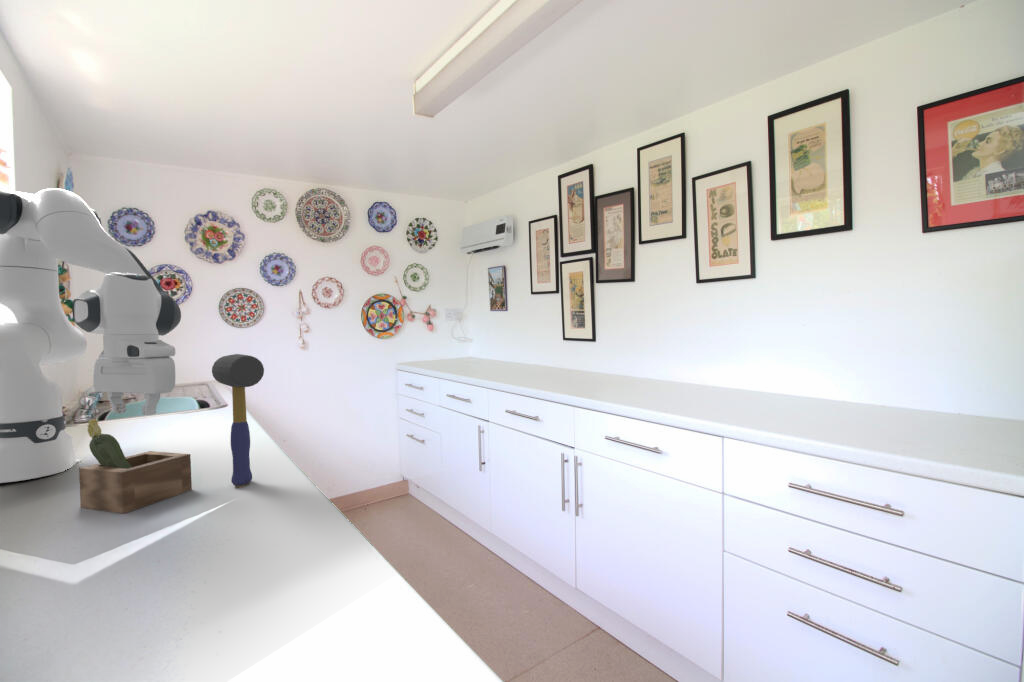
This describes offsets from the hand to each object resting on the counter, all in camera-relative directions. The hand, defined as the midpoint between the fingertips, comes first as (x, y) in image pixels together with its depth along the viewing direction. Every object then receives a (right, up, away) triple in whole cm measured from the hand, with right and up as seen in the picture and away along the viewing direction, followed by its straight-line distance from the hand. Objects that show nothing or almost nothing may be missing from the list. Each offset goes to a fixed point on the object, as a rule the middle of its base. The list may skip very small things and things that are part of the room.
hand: (134, 413), depth 91 cm
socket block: (+1, -18, 0) cm, 18 cm away
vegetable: (+3, -18, -1) cm, 18 cm away
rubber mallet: (+19, -18, +6) cm, 27 cm away
